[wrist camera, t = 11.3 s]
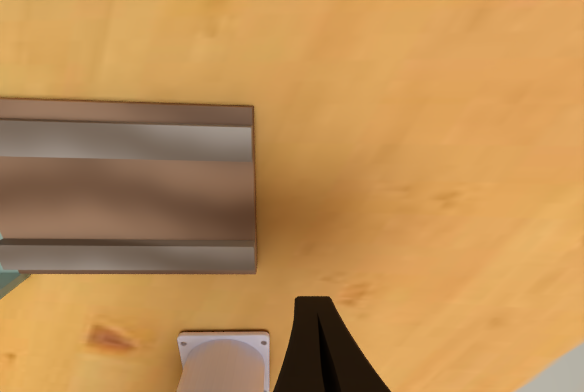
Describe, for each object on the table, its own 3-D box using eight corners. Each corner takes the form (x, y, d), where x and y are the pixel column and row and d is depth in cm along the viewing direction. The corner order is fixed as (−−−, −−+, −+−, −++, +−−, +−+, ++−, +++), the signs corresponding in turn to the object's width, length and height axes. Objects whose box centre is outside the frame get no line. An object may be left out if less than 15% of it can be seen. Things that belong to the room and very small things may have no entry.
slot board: (257, 265, 21) (255, 281, 19) (31, 264, 20) (9, 281, 19) (253, 105, 16) (250, 109, 15) (-43, 96, 15) (-81, 98, 14)
